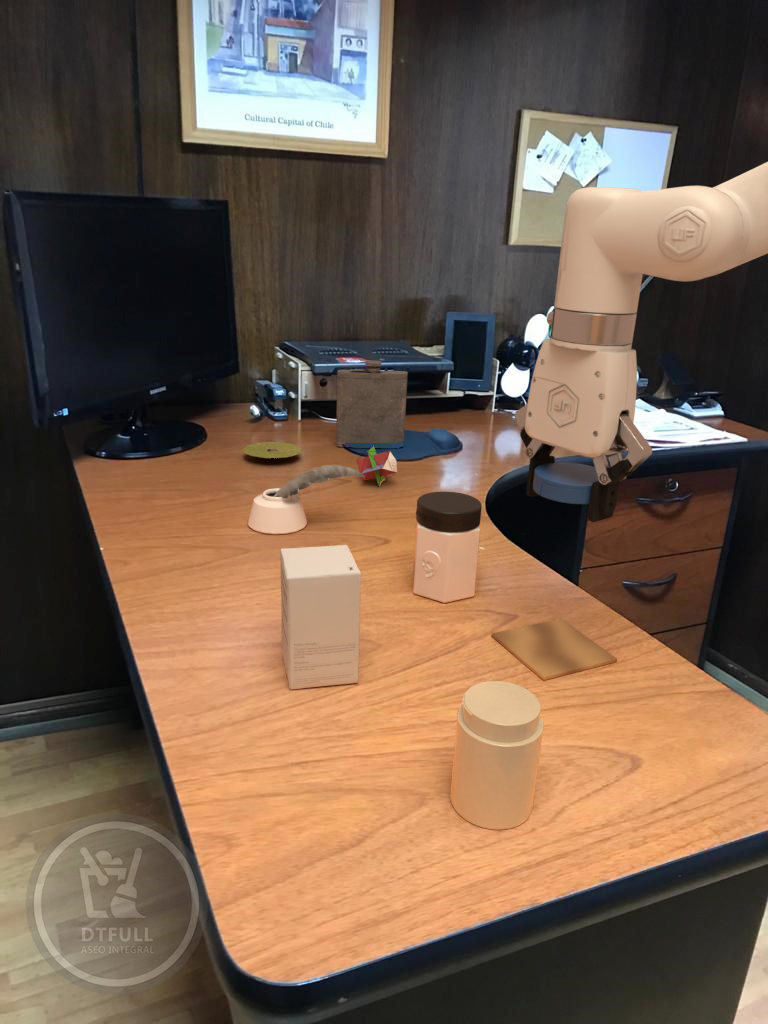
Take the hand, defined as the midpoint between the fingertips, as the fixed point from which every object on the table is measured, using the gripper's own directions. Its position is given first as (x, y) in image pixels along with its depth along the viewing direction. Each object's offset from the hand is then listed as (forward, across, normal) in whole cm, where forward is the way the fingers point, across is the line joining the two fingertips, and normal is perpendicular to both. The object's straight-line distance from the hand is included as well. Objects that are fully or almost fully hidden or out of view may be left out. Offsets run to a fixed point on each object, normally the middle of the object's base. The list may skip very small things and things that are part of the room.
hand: (568, 505), depth 79 cm
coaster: (+18, -1, +2) cm, 18 cm away
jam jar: (+18, +13, -21) cm, 30 cm away
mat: (+19, -81, +10) cm, 84 cm away
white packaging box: (+18, -12, -22) cm, 31 cm away
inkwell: (+19, -48, -2) cm, 51 cm away
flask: (+19, -79, +32) cm, 87 cm away
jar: (+18, -20, +2) cm, 27 cm away
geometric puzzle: (+19, -59, +19) cm, 65 cm away
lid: (-3, 0, 0) cm, 3 cm away
